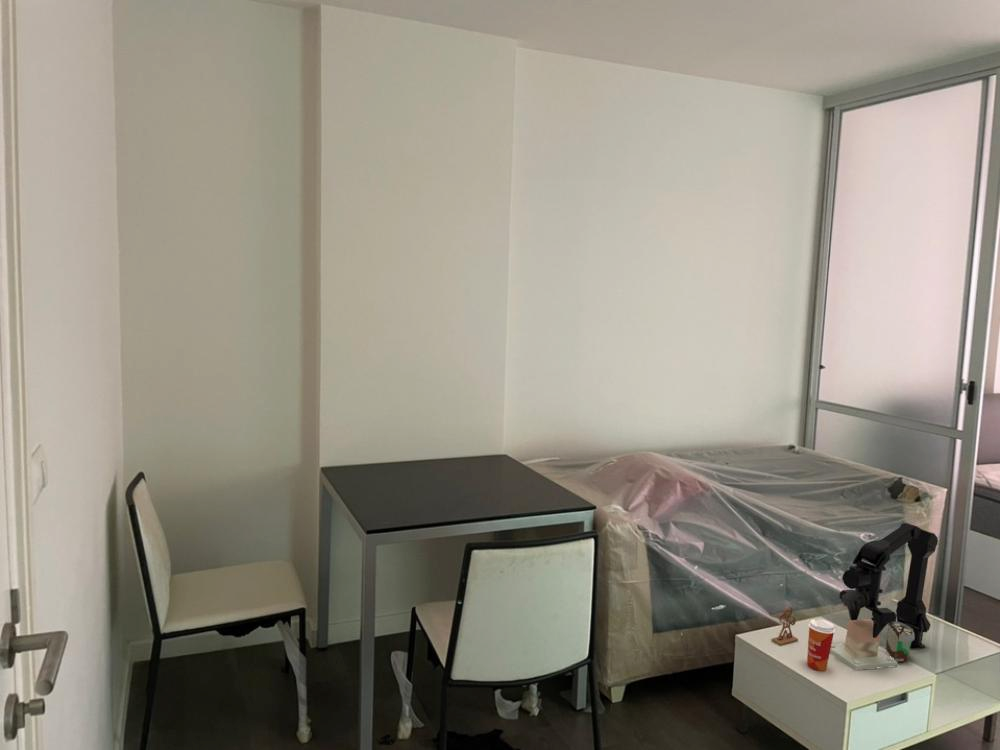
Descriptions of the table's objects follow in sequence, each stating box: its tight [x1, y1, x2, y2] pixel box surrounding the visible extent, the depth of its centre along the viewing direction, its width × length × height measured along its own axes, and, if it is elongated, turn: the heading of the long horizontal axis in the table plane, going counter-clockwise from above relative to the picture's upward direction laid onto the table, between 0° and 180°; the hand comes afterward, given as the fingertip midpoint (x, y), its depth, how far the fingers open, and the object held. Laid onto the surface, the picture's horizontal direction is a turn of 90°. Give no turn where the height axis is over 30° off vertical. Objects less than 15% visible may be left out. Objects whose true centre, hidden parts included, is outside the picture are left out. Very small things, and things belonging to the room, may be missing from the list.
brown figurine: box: [770, 605, 799, 647], centre depth 254 cm, size 9×4×12 cm, turn 121°
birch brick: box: [844, 634, 880, 658], centre depth 246 cm, size 8×6×5 cm
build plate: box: [830, 642, 899, 671], centre depth 246 cm, size 16×14×2 cm
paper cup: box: [806, 619, 836, 672], centre depth 237 cm, size 8×8×14 cm
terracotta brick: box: [846, 618, 882, 643], centre depth 245 cm, size 8×6×5 cm
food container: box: [885, 620, 915, 664], centre depth 248 cm, size 12×6×10 cm, turn 168°
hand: (863, 631), depth 245 cm, fingers open, 9 cm apart
